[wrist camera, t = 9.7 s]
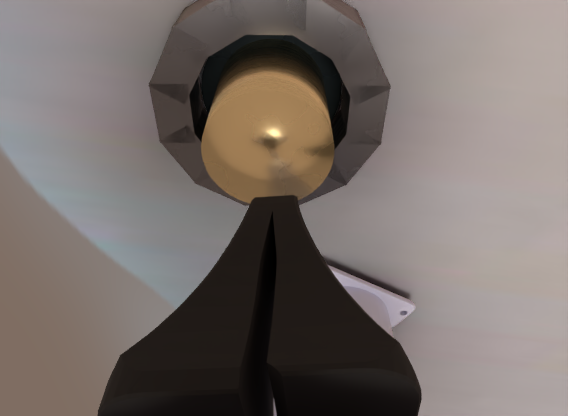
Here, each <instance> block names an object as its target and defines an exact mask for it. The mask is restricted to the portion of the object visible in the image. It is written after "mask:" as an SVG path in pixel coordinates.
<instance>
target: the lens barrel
mask: <svg viewBox="0 0 568 416" xmlns="http://www.w3.org/2000/svg"><path fill="white" fill-rule="evenodd" d="M262 39H279V40H284V41H288V42H290V43H293V44H295V45H297V46H299V47H300V48H302V49H303V50H305V51H306V52H307V53H308V54H309V55H310V56H311V57H312V58H313V59H314V60H315V62H316V63H317V65H318V67H319V69H320V71H321V73H322V77H323V80H324V86H325V92H326V98H327V104H328V110H329V116H330V122H331V129H332V135H333V141H334V159H333V164H332V167H331V169H330V171H329V173H328V176H327V177H326V178H325V180H324V181H323V183H322V184H321V185H320V186H319V187H318V188H317V189H316V190H314V191H313V192H312V193H311V194H309V195H308V196H306V197H304V198H302V199H300V200H298V204H299V205H301V204H303V203H305V202H308V201H310V200H312V199H314V198H317V197H319V196H321V195H324V194H326V193H328V192H331V191H333V190H335V189H337V188H340V187H342V186H344V185H347V183H348V182H349V181H350V180H351V178H352V177H353V176H354V175H355V174H356V172H357V171H358V170H359V169H360V168H361V166H362V165H363V164H364V163H365V162H366V160H367V159H368V158H369V157H370V156H371V154H372V153H373V152H374V151H375V150H376V148H377V147H378V146H379V145H380V144H381V138H382V133H383V127H384V121H385V115H386V109H387V103H388V97H389V91H390V89H391V88H390V84H389V82H388V79H387V77H386V75H385V73H384V71H383V68H382V66H381V64H380V63H379V60H378V58H377V56H376V53H375V51H374V49H373V46H372V44H371V42H370V40H369V37H368V35H367V33H366V28H365V26H364V24H363V22H362V20H361V17H360V15H359V13H358V11H357V10H356V9H354V8H352V7H351V6H349V5H348V4H346V3H345V2H343V1H342V0H198V1H196V2H195V3H193V4H192V5H190V6H188V7H187V8H185V9H184V10H183V12H182V13H181V15H180V16H179V18H178V19H177V21H176V22H175V24H174V25H173V27H172V31H171V33H170V35H169V38H168V40H167V43H166V45H165V48H164V50H163V52H162V55H161V57H160V60H159V62H158V65H157V67H156V69H155V72H154V74H153V77H152V79H151V81H150V82H149V87H150V92H151V97H152V102H153V107H154V112H155V118H156V123H157V128H158V133H159V138H160V140H159V141H160V143H162V144H163V145H164V147H165V148H166V149H167V150H168V151H169V152H170V154H171V155H172V156H173V157H174V158H175V159H176V161H177V162H178V163H179V164H180V165H181V167H182V168H183V169H184V170H185V171H186V172H187V174H188V175H189V176H190V177H191V178H192V179H193V181H194V182H195V183H196V184H198V185H201V186H203V187H205V188H207V189H210V190H212V191H214V192H216V193H218V194H221V195H223V196H225V197H227V198H230V199H232V200H234V201H236V202H239V203H241V204H243V205H245V206H246V205H250V203H247V202H244V201H241V200H239V199H236V198H235V197H233V196H231V195H229V194H228V193H226V192H225V191H224V190H222V189H221V188H220V187H219V186H218V185H217V184H216V183H215V182H214V181H213V179H212V178H211V177H210V175H209V173H208V172H207V170H206V168H205V165H204V162H203V158H202V154H201V142H202V136H203V132H204V129H205V125H206V122H207V119H208V114H209V112H210V109H211V106H212V102H213V99H214V96H215V92H216V89H217V86H218V82H219V79H220V76H221V72H222V70H223V68H224V66H225V64H226V62H227V61H228V59H229V58H230V57H231V56H232V55H233V54H234V53H235V52H236V51H237V50H238V49H240V48H241V47H243V46H245V45H247V44H249V43H251V42H254V41H257V40H262ZM207 58H208V59H207ZM206 59H207V61H206ZM205 61H206V64H205V67H204V71H203V75H202V95H203V100H204V104H205V107H206V109H207V112H208V113H207V112H206V111H205V109H204V108H203V103H202V95H201V86H200V78H199V73H200V71H201V69H202V67H203V65H204V63H205ZM340 76H341V78H342V80H343V90H342V100H341V109H340V110H339V112H338V113H337V114H336V111H337V109H338V106H339V102H340V96H341V79H340ZM335 114H336V116H335ZM334 116H335V117H334ZM333 118H334V119H333Z"/></svg>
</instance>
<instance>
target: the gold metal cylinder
mask: <svg viewBox="0 0 568 416" xmlns="http://www.w3.org/2000/svg"><path fill="white" fill-rule="evenodd" d="M201 154H202V158H203V162H204V165H205V168H206V170H207V172H208V173H209V175H210V177H211V178H212V179H213V181H214V182H215V183H216V184H217V185H218V186H219V187H220V188H221V189H222V190H224V191H225V192H226V193H228V194H229V195H231V196H233V197H235V198H236V199H239V200H241V201H244V202H247V203H251V201H252V200H253V199H254V198H255V197H268V196H284V195H295V196H296V197H297V198H298V200H300V199H302V198H304V197H306V196H308V195H309V194H311V193H312V192H313V191H314V190H316V189H317V188H318V187H319V186H320V185H321V184H322V183H323V181H324V180H325V178H326V177H327V176H328V173H329V171H330V169H331V167H332V164H333V159H334V141H333V135H332V129H331V122H330V116H329V110H328V104H327V98H326V92H325V86H324V80H323V77H322V73H321V71H320V69H319V67H318V65H317V63H316V62H315V60H314V59H313V58H312V57H311V56H310V55H309V54H308V53H307V52H306V51H305V50H303V49H302V48H300V47H299V46H297V45H295V44H293V43H290V42H288V41H284V40H279V39H262V40H257V41H254V42H251V43H249V44H247V45H245V46H243V47H241V48H240V49H238V50H237V51H236V52H235V53H234V54H233V55H232V56H231V57H230V58H229V59H228V61H227V62H226V64H225V66H224V68H223V70H222V72H221V76H220V79H219V82H218V86H217V89H216V92H215V96H214V99H213V102H212V106H211V109H210V112H209V115H208V119H207V122H206V125H205V129H204V132H203V136H202V142H201Z"/></svg>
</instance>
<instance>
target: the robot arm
mask: <svg viewBox="0 0 568 416" xmlns="http://www.w3.org/2000/svg"><path fill="white" fill-rule="evenodd" d="M414 310H415V304H414V302H413V301H411V300H409V299H406V298H404V297H402V296H399V295H397V294H395V293H392V292H390V291H388V290H385V289H383V288H381V287H378V286H376V285H374V284H371V283H369V282H367V281H364V280H362V279H360V278H357V277H355V276H353V275H350V274H348V273H346V272H343V271H341V270H339V269H336V268H334V267H332V266H329V265H327V264H326V262H325V260H324V259H323V257H322V256H321V254H320V252H319V251H318V249H317V247H316V245H315V243H314V242H313V240H312V238H311V236H310V233H309V231H308V229H307V227H306V225H305V223H304V220H303V217H302V215H301V212H300V208H299V204H298V198H297V197H296V196H295V195H284V196H268V197H255V198H254V199H253V200H252V201H251V203H250V206H249V208H248V210H247V212H246V215H245V217H244V219H243V221H242V222H241V224H240V226H239V228H238V230H237V232H236V233H235V235H234V237H233V238H232V240H231V242H230V244H229V245H228V247H227V248H226V250H225V251H224V253H223V254H222V256H221V257H220V259H219V260H218V262H217V263H216V264H215V266H214V267H213V268H212V270H211V271H210V272H209V274H208V275H207V276H206V277H205V279H204V280H203V281H202V282H201V284H200V285H199V286H198V287H197V288H196V289H195V290H194V291H193V293H192V294H191V295H190V296H189V297H188V298H187V299H186V300H185V301H184V302H183V303H182V304H181V305H180V306H179V307H178V308H177V309H176V310H175V311H174V312H173V313H172V314H171V315H170V316H169V317H168V318H166V319H165V320H164V321H163V322H162V323H161V324H160V325H159V326H158V327H157V328H155V329H154V330H153V331H152V332H151V333H149V334H148V335H147V336H145V337H144V338H143V339H141V340H140V341H139V342H138V343H136V344H135V345H134V346H132V347H131V348H130V349H129V350H127V351H126V352H124V353H123V354H121V355H120V357H119V359H118V361H117V364H116V366H115V368H114V370H113V372H112V374H111V376H110V378H109V381H108V383H107V386H106V389H105V392H104V395H103V398H102V401H101V404H100V407H99V410H98V416H418V412H419V407H420V403H421V388H420V385H419V382H418V379H417V377H416V374H415V372H414V369H413V367H412V365H411V363H410V361H409V359H408V357H407V355H406V354H405V352H404V350H403V348H402V346H401V345H400V343H399V342H398V341H397V340H396V339H394V336H393V331H392V328H393V327H394V326H396V325H397V324H398V323H399V322H401V321H402V320H403V319H404V318H406V317H407V316H408V315H409V314H410V313H412V312H413V311H414Z"/></svg>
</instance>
